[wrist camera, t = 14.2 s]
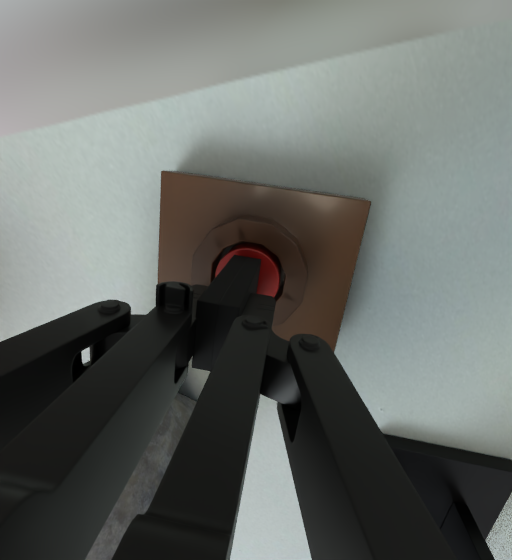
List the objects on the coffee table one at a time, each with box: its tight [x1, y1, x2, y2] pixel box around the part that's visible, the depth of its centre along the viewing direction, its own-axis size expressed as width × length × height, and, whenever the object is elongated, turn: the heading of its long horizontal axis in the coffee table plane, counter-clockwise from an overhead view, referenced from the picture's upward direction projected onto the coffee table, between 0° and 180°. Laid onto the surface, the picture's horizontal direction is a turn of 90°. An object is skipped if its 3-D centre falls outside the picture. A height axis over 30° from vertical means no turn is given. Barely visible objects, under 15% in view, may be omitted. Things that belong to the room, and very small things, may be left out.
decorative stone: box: [85, 392, 197, 560], centre depth 20 cm, size 15×10×15 cm
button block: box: [158, 171, 371, 352], centre depth 20 cm, size 12×10×4 cm
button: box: [215, 242, 281, 298], centre depth 18 cm, size 4×4×2 cm
